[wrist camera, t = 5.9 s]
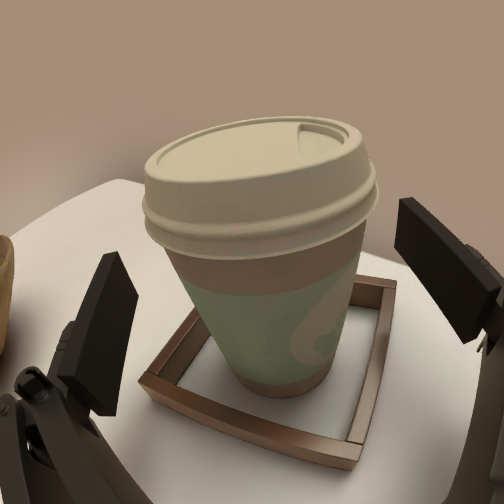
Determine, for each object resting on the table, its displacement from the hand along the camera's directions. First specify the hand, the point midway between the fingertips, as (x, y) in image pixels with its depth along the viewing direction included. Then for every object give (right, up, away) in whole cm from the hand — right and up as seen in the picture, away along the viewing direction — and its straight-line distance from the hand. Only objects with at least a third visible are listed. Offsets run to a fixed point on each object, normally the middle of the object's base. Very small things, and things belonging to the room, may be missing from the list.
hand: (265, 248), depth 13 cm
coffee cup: (+1, -6, +3) cm, 7 cm away
